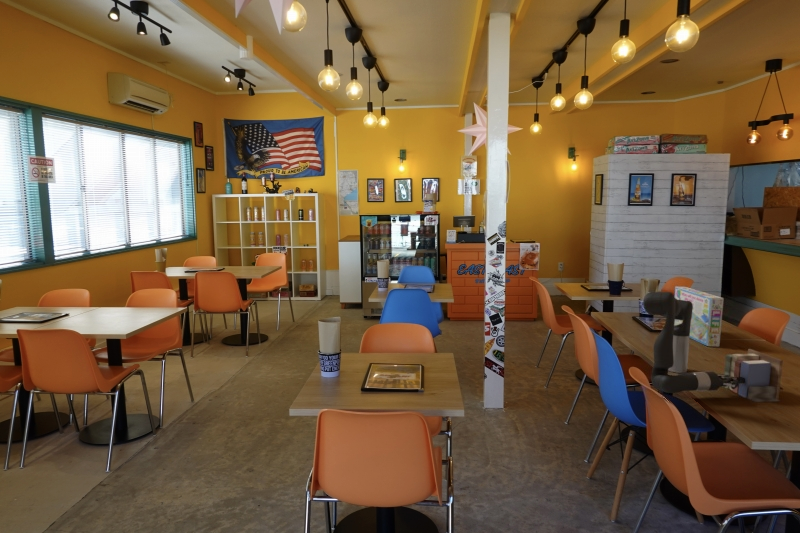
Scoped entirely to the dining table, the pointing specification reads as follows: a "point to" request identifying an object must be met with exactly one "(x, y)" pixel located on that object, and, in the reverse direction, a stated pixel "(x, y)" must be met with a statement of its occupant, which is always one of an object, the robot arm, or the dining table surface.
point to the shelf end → (758, 391)
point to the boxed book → (754, 375)
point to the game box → (703, 315)
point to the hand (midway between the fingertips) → (743, 380)
